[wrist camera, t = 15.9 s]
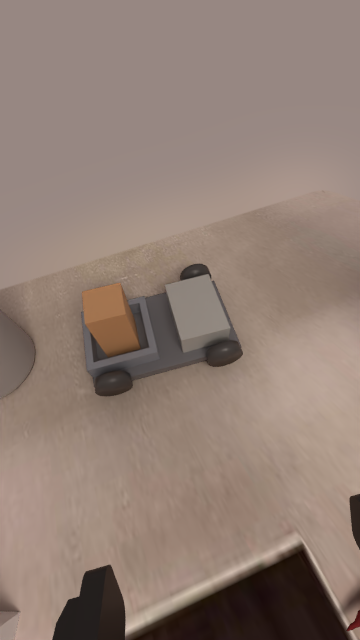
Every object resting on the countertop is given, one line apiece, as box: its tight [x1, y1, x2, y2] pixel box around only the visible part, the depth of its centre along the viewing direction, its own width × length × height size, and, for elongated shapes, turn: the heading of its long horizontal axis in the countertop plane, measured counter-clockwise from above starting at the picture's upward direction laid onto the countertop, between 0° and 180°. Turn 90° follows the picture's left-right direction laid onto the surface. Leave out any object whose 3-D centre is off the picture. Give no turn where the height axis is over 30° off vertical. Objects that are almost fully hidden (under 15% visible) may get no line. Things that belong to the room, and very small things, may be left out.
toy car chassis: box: [81, 264, 243, 396], centre depth 44 cm, size 22×16×6 cm
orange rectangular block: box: [82, 283, 141, 357], centre depth 41 cm, size 5×5×10 cm
